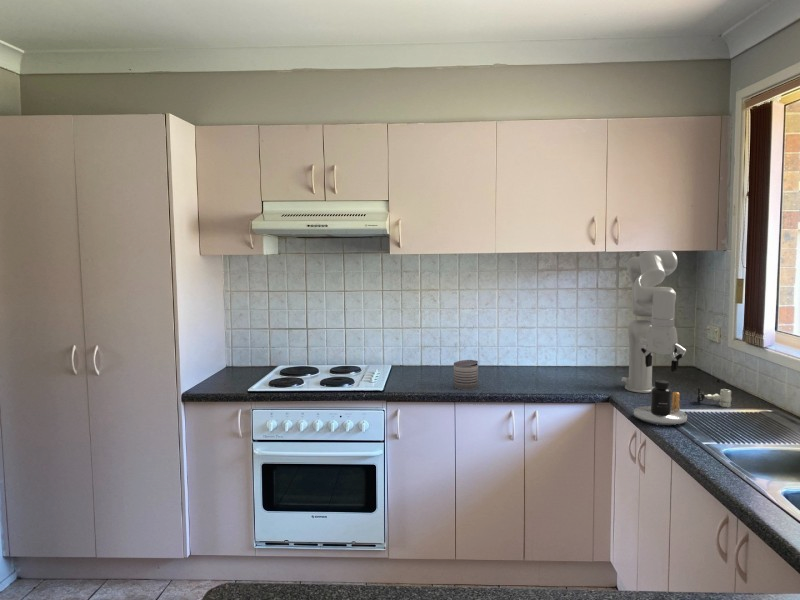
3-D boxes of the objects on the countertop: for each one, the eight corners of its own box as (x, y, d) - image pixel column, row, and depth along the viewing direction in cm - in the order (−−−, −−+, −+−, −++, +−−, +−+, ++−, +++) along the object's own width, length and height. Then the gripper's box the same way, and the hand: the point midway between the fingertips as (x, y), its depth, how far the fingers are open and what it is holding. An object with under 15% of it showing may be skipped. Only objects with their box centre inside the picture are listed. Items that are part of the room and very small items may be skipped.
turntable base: (668, 428, 199) (668, 425, 199) (632, 419, 210) (632, 416, 210) (688, 420, 208) (688, 418, 208) (651, 412, 219) (651, 409, 219)
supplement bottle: (661, 416, 204) (662, 384, 203) (646, 411, 210) (647, 380, 209) (675, 414, 207) (676, 382, 206) (659, 409, 213) (660, 378, 212)
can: (479, 390, 256) (479, 364, 255) (454, 390, 256) (454, 364, 255) (477, 384, 267) (477, 359, 266) (453, 384, 268) (453, 359, 266)
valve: (730, 404, 228) (697, 401, 233) (731, 388, 227) (697, 385, 232) (731, 409, 222) (697, 405, 227) (732, 392, 221) (697, 389, 227)
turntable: (671, 427, 196) (672, 407, 196) (624, 415, 211) (624, 397, 210) (701, 415, 209) (701, 397, 209) (654, 405, 224) (655, 387, 223)
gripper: (635, 321, 210) (633, 366, 212) (681, 326, 196) (679, 374, 198) (645, 319, 215) (644, 363, 217) (691, 324, 201) (689, 371, 203)
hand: (661, 368), depth 207 cm, fingers open, 9 cm apart
